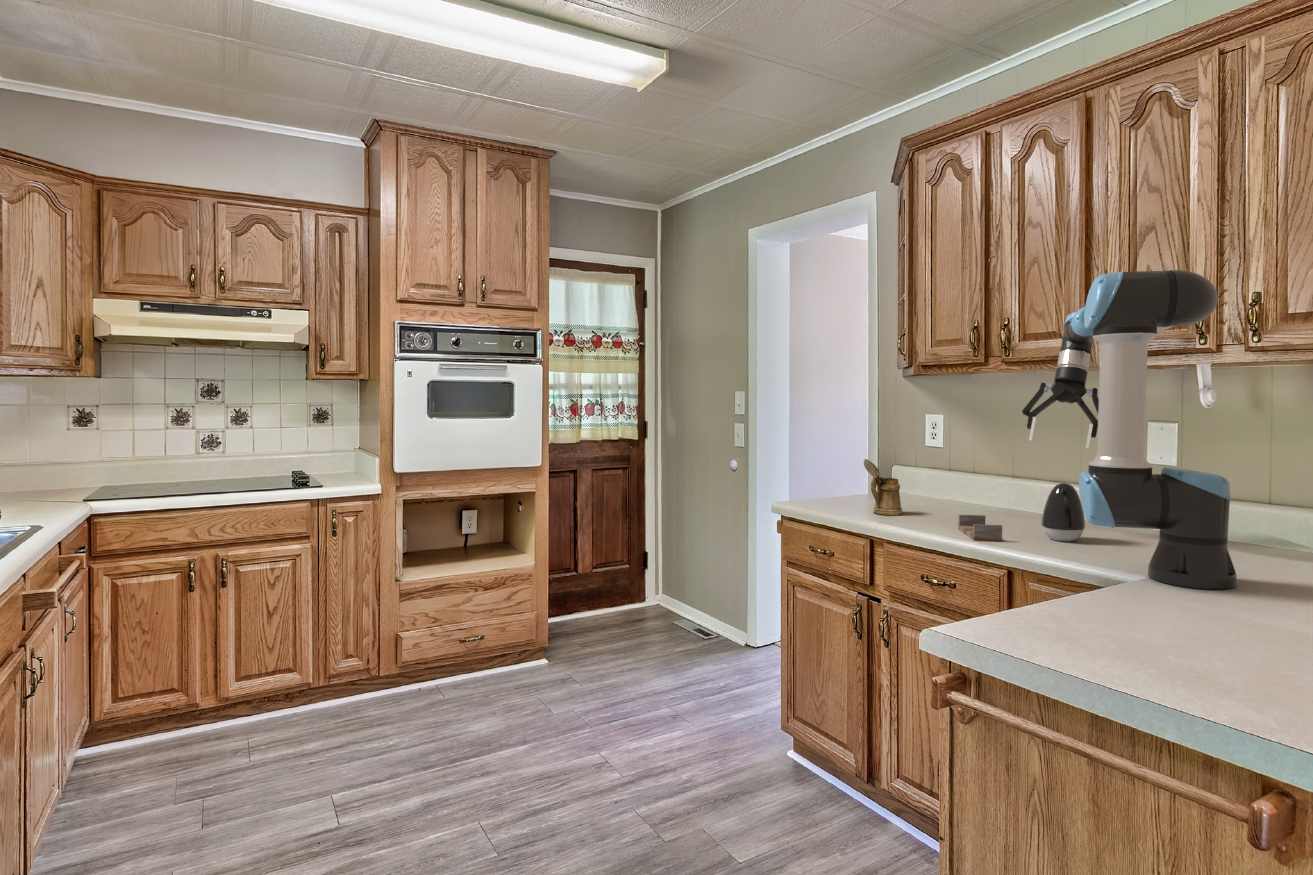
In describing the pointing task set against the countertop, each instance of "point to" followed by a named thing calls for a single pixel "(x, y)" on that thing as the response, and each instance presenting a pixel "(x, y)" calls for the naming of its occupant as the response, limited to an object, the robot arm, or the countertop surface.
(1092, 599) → the countertop surface
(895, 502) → the wooden mug
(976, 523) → the walnut riser
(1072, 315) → the robot arm
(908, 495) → the countertop surface
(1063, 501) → the black egg roly-poly
